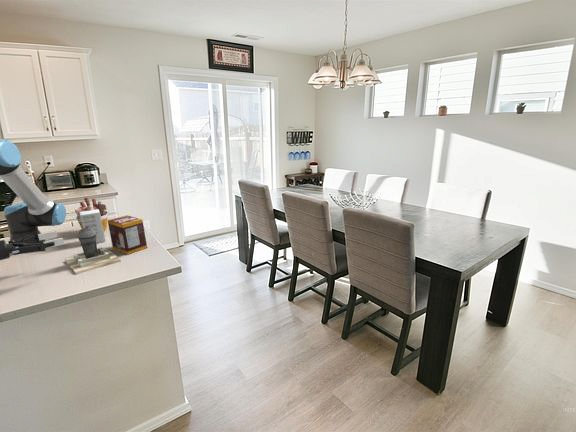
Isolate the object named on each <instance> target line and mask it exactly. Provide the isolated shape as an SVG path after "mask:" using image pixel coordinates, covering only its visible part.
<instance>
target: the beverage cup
mask: <svg viewBox="0 0 576 432" xmlns="http://www.w3.org/2000/svg"><path fill="white" fill-rule="evenodd" d="M80 219H81V222H82V225H83V228H81V229H80V230H79V231H78V233H77V239H78V242H79V243H80V245H81V248H82V251H83V252H84V255H85V258H86V259H89V258H93V257H97V256H98V253H97V249H98V245H97V244H98V243H96V233H95V231H94V230H93V229H92V228H89V227H85V226H84V223H83V220H82V218H80Z"/></svg>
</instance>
